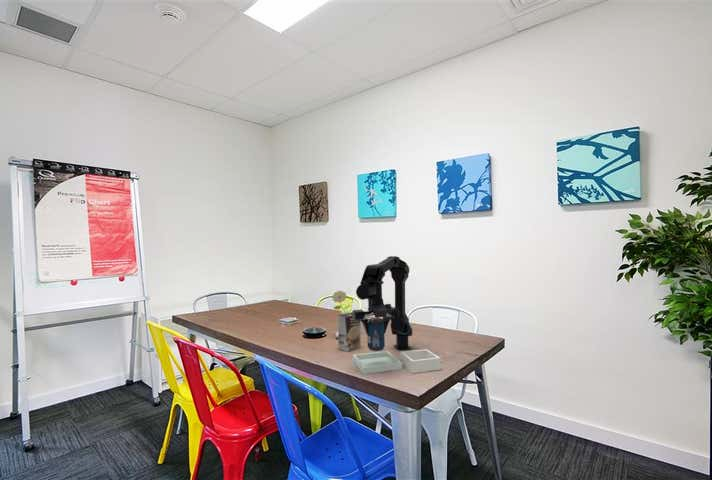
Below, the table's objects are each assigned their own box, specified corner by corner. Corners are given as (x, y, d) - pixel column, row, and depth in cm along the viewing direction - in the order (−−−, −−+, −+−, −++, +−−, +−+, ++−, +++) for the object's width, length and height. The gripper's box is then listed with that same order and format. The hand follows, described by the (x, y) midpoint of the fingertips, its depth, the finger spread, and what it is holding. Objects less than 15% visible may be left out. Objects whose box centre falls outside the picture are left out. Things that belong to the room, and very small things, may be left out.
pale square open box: (400, 362, 140) (400, 351, 140) (426, 359, 144) (426, 349, 144) (412, 373, 129) (412, 361, 129) (440, 369, 132) (440, 358, 132)
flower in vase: (358, 334, 186) (357, 289, 186) (355, 340, 174) (354, 291, 175) (334, 334, 187) (333, 289, 187) (330, 340, 175) (329, 292, 176)
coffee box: (347, 352, 156) (346, 317, 156) (338, 349, 161) (337, 315, 161) (361, 347, 163) (360, 313, 163) (352, 344, 167) (351, 312, 167)
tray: (352, 360, 144) (352, 354, 144) (388, 356, 149) (387, 351, 149) (363, 374, 129) (363, 367, 129) (402, 369, 133) (402, 363, 133)
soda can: (379, 345, 144) (378, 317, 144) (388, 350, 137) (387, 320, 138) (364, 348, 140) (364, 319, 140) (373, 352, 134) (372, 322, 134)
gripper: (358, 300, 129) (359, 341, 129) (404, 297, 134) (405, 337, 134) (351, 296, 140) (352, 334, 140) (393, 293, 145) (394, 330, 144)
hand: (376, 334), depth 139 cm, fingers closed on soda can, 7 cm apart
